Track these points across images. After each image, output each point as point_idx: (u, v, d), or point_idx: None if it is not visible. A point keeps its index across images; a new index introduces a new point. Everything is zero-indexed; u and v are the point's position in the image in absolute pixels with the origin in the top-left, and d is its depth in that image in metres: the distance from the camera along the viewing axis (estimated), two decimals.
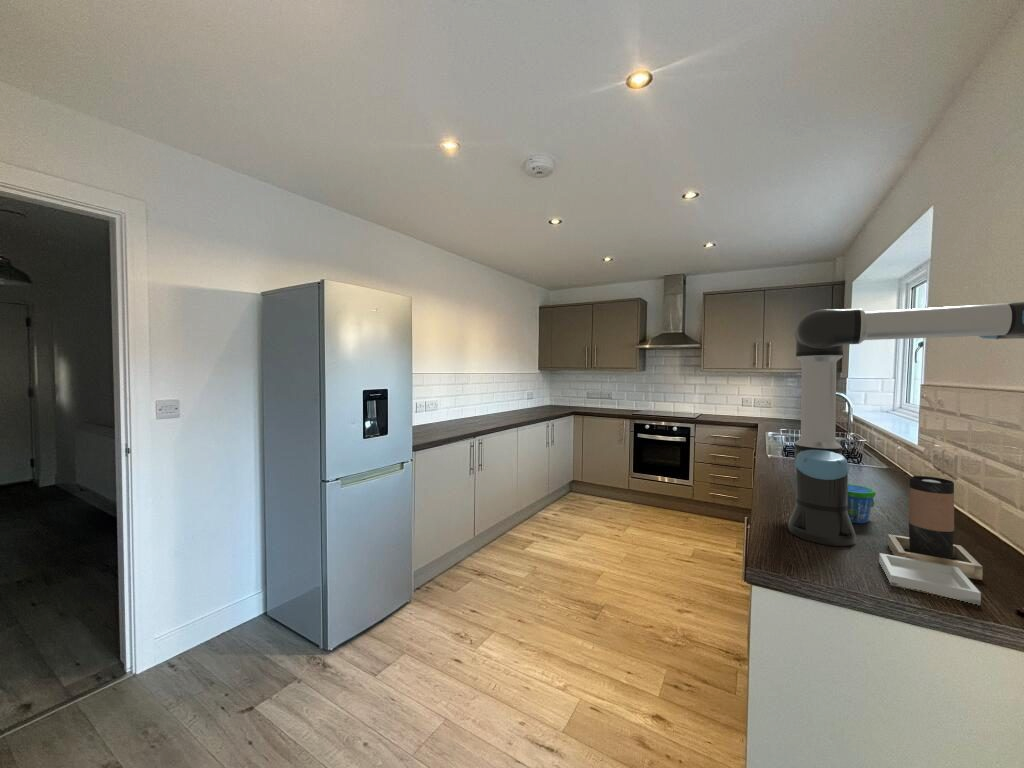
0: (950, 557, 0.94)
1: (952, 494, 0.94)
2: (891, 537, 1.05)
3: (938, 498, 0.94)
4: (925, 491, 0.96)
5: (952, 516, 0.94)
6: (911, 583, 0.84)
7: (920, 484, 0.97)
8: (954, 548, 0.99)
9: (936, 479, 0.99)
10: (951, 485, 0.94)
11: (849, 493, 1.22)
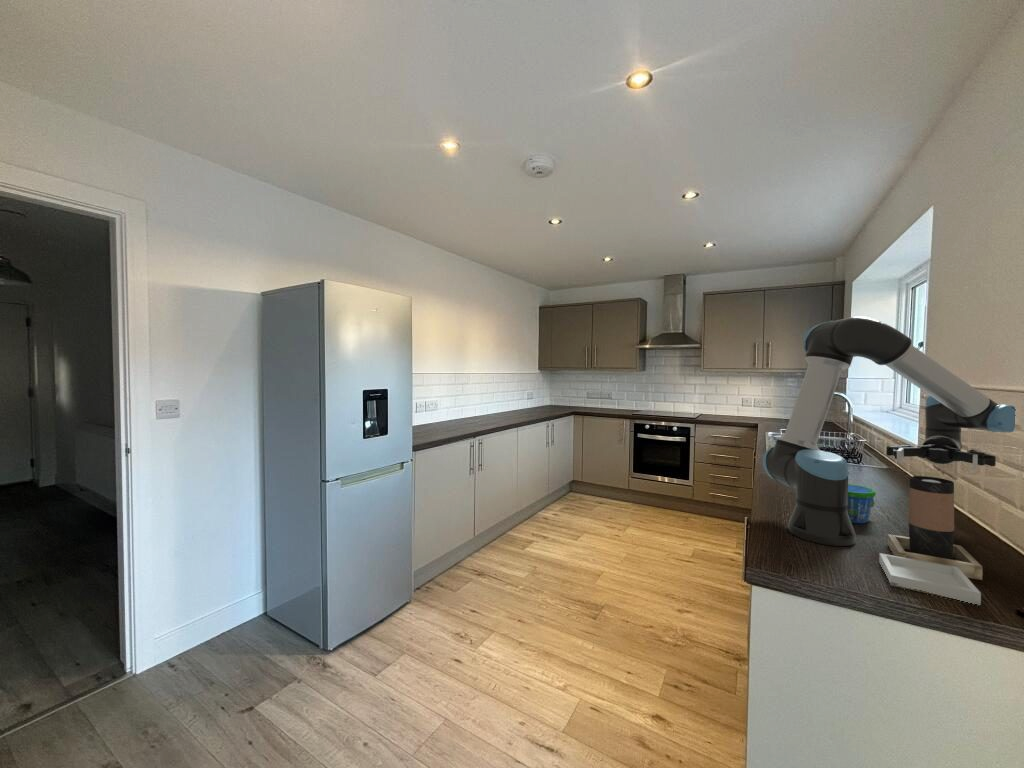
0: (950, 557, 0.94)
1: (952, 494, 0.94)
2: (891, 537, 1.05)
3: (938, 498, 0.94)
4: (925, 491, 0.96)
5: (952, 516, 0.94)
6: (911, 583, 0.84)
7: (920, 484, 0.97)
8: (954, 548, 0.99)
9: (936, 479, 0.99)
10: (951, 485, 0.94)
11: (849, 493, 1.22)
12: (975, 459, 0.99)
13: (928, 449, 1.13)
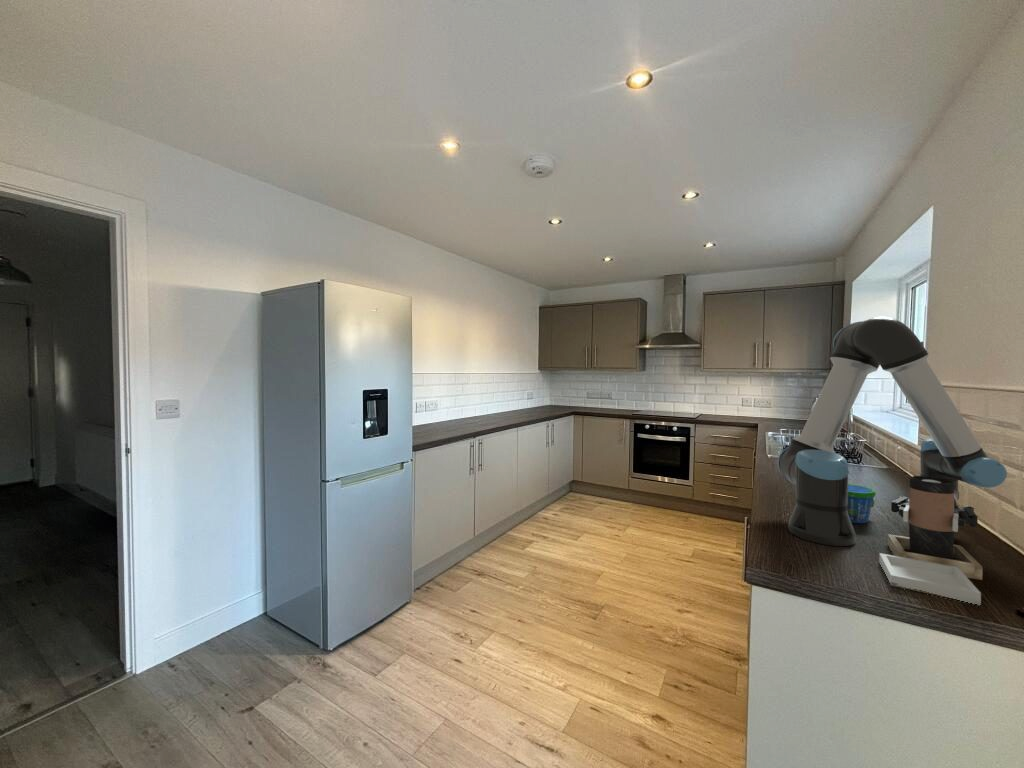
0: (950, 557, 0.94)
1: (952, 494, 0.94)
2: (891, 537, 1.05)
3: (938, 498, 0.94)
4: (925, 491, 0.96)
5: (952, 516, 0.94)
6: (911, 583, 0.84)
7: (920, 484, 0.97)
8: (954, 548, 0.99)
9: (936, 479, 0.99)
10: (951, 485, 0.94)
11: (849, 493, 1.22)
12: (955, 521, 0.91)
13: None
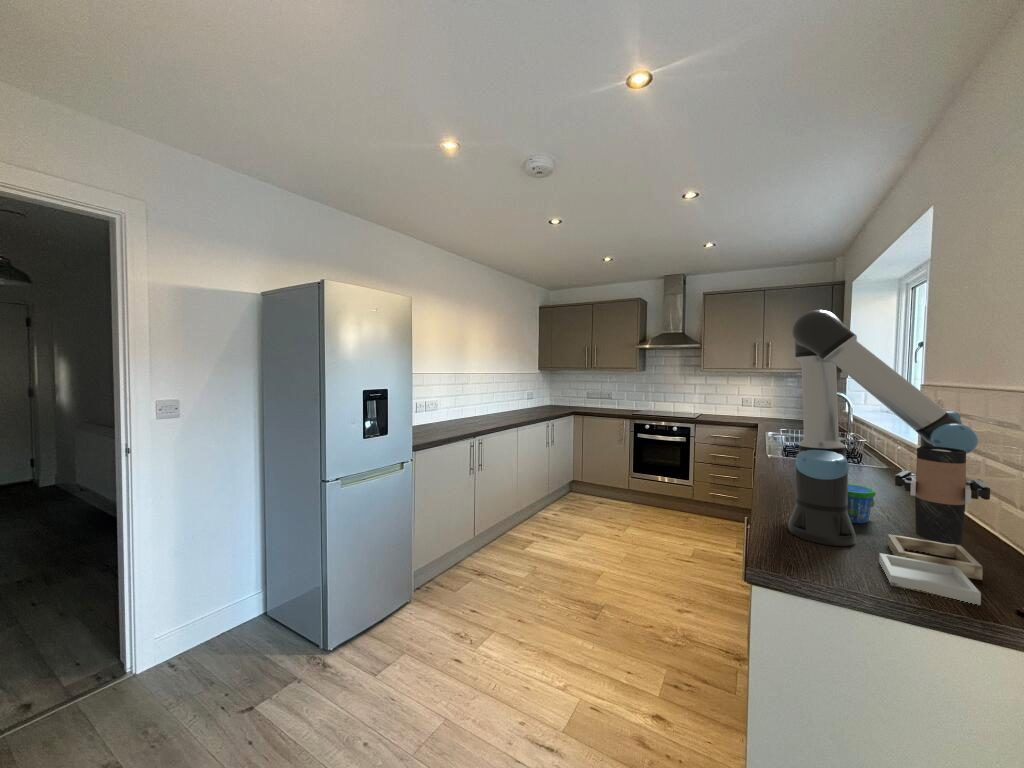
0: (961, 533, 0.86)
1: (964, 464, 0.86)
2: (891, 537, 1.05)
3: (949, 468, 0.86)
4: (935, 461, 0.87)
5: (964, 487, 0.86)
6: (911, 583, 0.84)
7: (930, 454, 0.88)
8: (954, 548, 0.99)
9: (945, 449, 0.91)
10: (963, 454, 0.86)
11: (849, 493, 1.22)
12: (968, 492, 0.83)
13: None
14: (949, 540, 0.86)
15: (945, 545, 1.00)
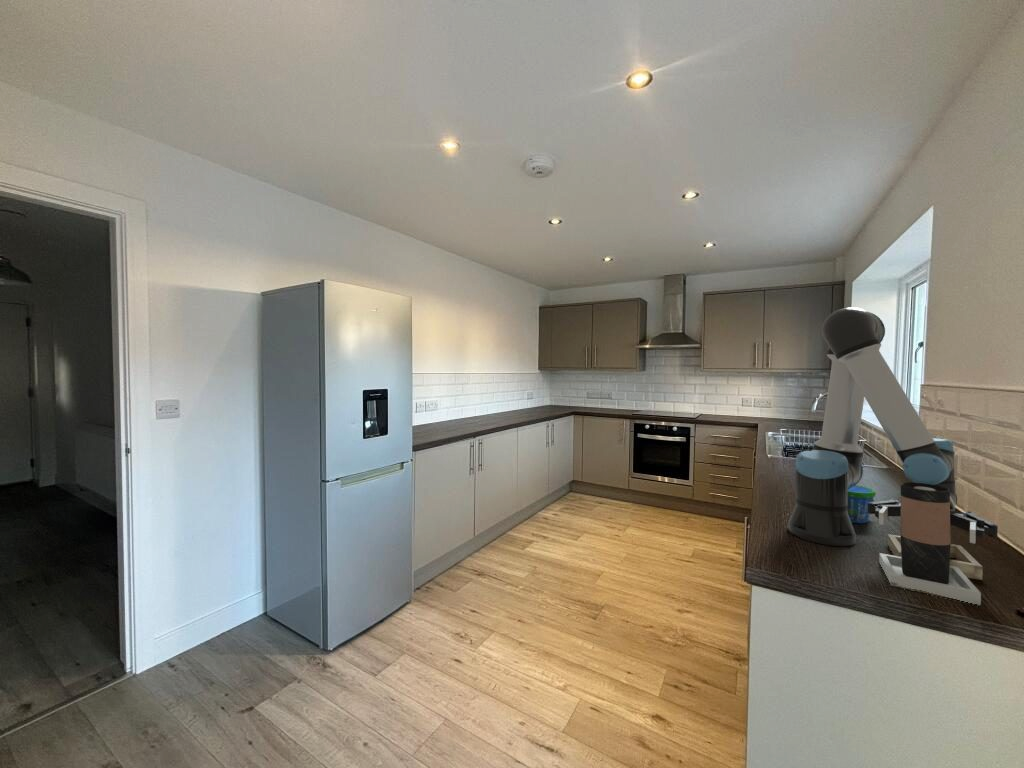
0: (946, 574, 0.84)
1: (948, 503, 0.84)
2: (891, 537, 1.05)
3: (932, 508, 0.84)
4: (917, 500, 0.86)
5: (948, 527, 0.84)
6: (911, 583, 0.84)
7: (912, 492, 0.87)
8: (954, 548, 0.99)
9: (930, 486, 0.89)
10: (946, 493, 0.84)
11: (849, 493, 1.22)
12: (973, 531, 0.80)
13: None
14: (934, 581, 0.84)
15: None
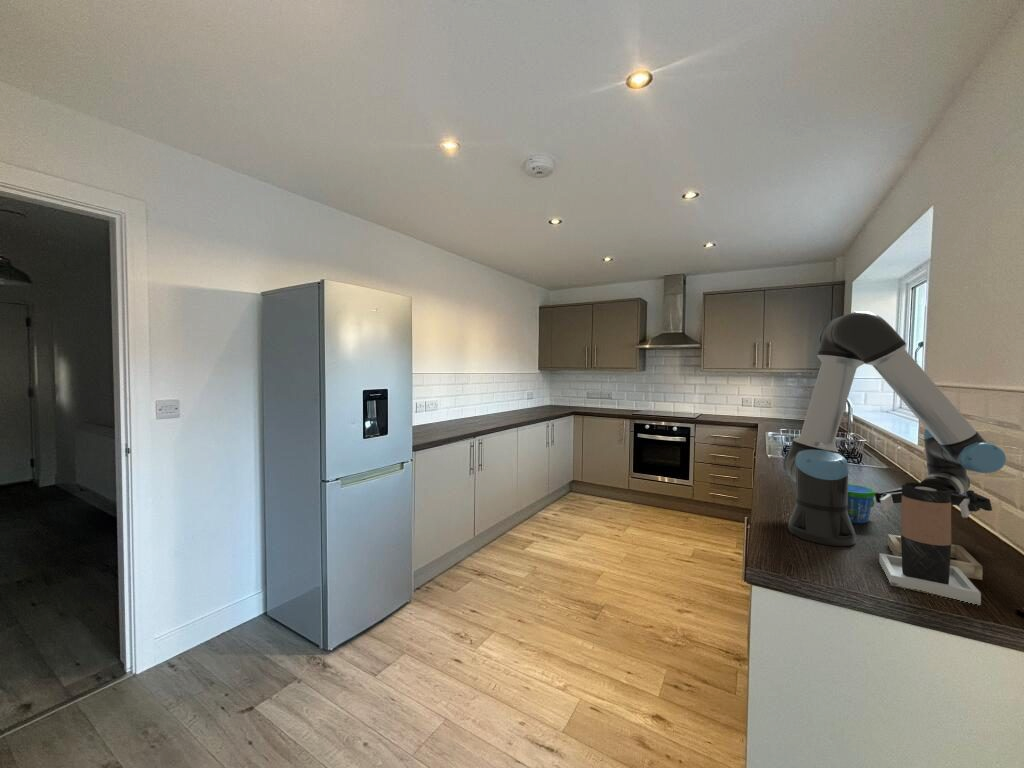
0: (947, 574, 0.84)
1: (949, 503, 0.84)
2: (891, 537, 1.05)
3: (933, 508, 0.84)
4: (918, 500, 0.86)
5: (949, 528, 0.84)
6: (911, 583, 0.84)
7: (913, 492, 0.86)
8: (954, 548, 0.99)
9: (931, 486, 0.89)
10: (948, 493, 0.84)
11: (849, 493, 1.22)
12: (962, 506, 0.90)
13: None
14: (934, 581, 0.84)
15: None
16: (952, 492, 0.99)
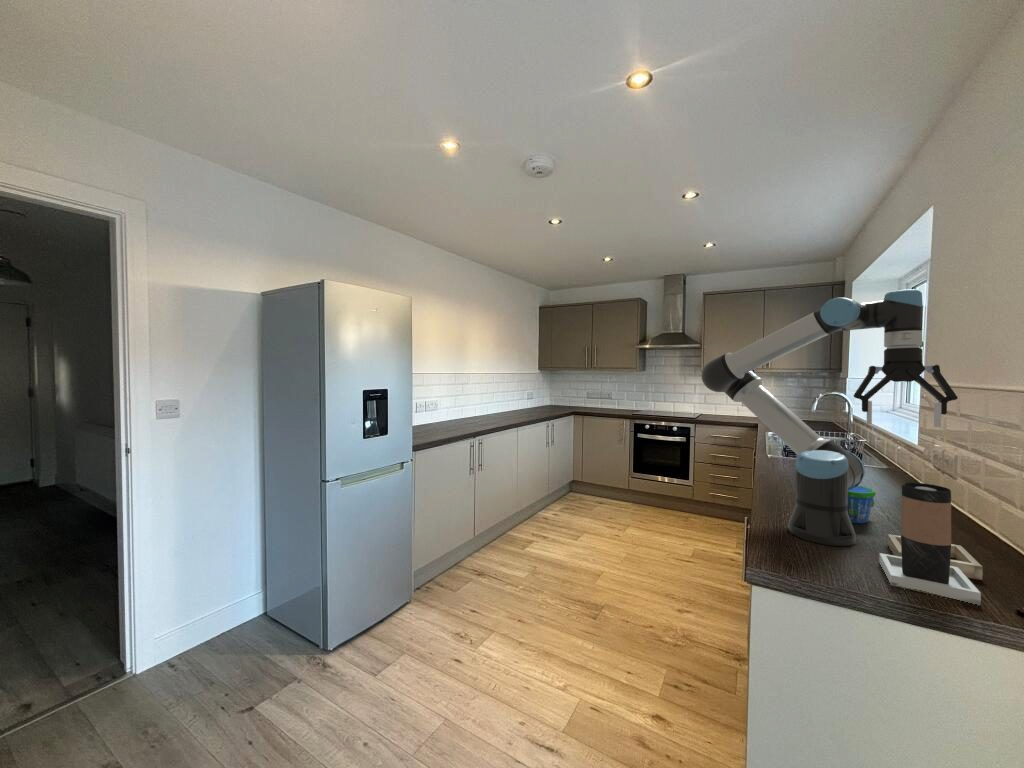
0: (947, 574, 0.84)
1: (949, 503, 0.84)
2: (891, 537, 1.05)
3: (933, 508, 0.84)
4: (918, 500, 0.86)
5: (949, 527, 0.84)
6: (911, 583, 0.84)
7: (913, 492, 0.86)
8: (954, 548, 0.99)
9: (931, 486, 0.89)
10: (948, 493, 0.84)
11: (849, 493, 1.22)
12: None
13: None
14: (934, 581, 0.84)
15: None
16: None
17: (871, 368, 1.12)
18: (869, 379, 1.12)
